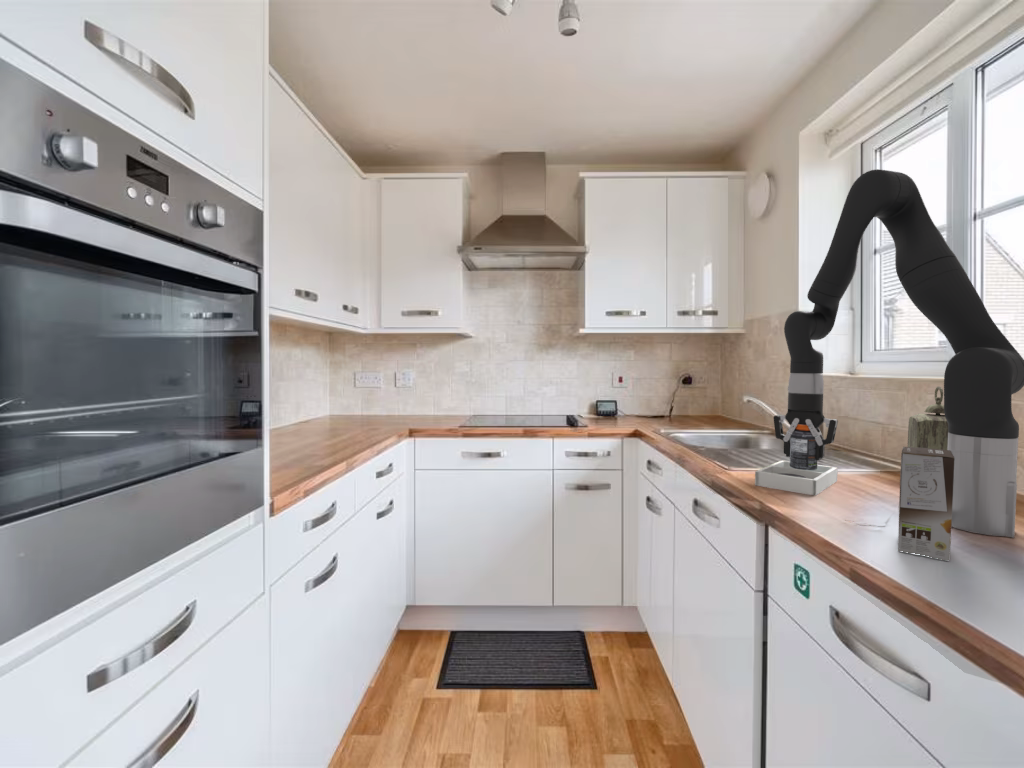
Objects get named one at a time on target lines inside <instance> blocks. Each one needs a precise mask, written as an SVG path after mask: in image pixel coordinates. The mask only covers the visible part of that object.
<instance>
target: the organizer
mask: <svg viewBox="0 0 1024 768" xmlns="http://www.w3.org/2000/svg"><path fill="white" fill-rule="evenodd" d="M838 470H839V468H838V467H837V466H829V465H823V464H822V465H821V464H817V469H816V470H812V471H807V470H800V469H794V468H791V467H790V460H779V461H778V462H777V461H776V462H775V463H772V464H770V465H768V466H765V467H763V468H760V469H758V470H756V471H754V473H755V474H754V485H755V486H756V487H757V486H758V487H764V488H768V489H769V488H770V489H775V490H781V491H785V492H792V493H797V494H803V495H809V496H810V495H811V496H818V495H819V494H820V493H822V492H823V491H825V490H826V489H828V488H829V487H830V486H832V485H833V484H835V483H836V482H838ZM780 473H788V474H796V475H801V476H804V477H806V478H800V477H794V476H787V475H781V474H780Z"/></svg>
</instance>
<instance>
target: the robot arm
mask: <svg viewBox="0 0 1024 768" xmlns="http://www.w3.org/2000/svg"><path fill="white" fill-rule="evenodd" d="M874 218H876V219H878V220H880V221H881V223H882V224H883V225H884V227H885V228H886V230H887V231H888V233H889V235H890V237H891V238H892V240H893V242H894V243H893V244H894V247H895V250H894V251H895V253H894V254H895V259H894V260H895V264H894V265H895V271H896V275H897V278H898V281H900V282H899V283H900V284H901V286H902V288H903V289H904V291H905V293H906V295H907V296H908V298H909V299H910V301H911V302H912V303H913V305H914V306H915V307H916V308H917V309H918V311H919V312H920V313H922V314H923V316H924V317H926V319H928V321H930V322H931V324H933V326H935V328H937V330H939V331H940V332H941V333H942V335H944V337H945V338H946V339H947V342H948V343H949V344H950V346H951V349H952V351H953V352H954V355H953V356H952V357H951V358H950V359H949V361H948V362H947V365H945V366H946V367H945V370H944V374H943V375H944V377H943V378H944V379H943V405H944V414H943V415H945V418H946V420H947V422H948V447H947V448H948V449H947V450H950V451H951V452H952V454H953V456H954V458H955V460H954V482H953V505H952V524H951V528H954V529H958V530H961V531H962V530H963V531H966V532H970V533H974V534H979V535H987V536H995V537H996V536H998V537H1008V538H1015V533H1016V531H1015V529H1016V514H1017V513H1016V510H1017V507H1016V506H1017V493H1018V492H1017V490H1018V484H1017V478H1018V476H1017V473H1018V453H1019V452H1018V451H1019V437H1020V436H1019V435H1020V433H1019V432H1020V425H1019V423H1018V421H1017V420H1016V419H1015V417H1014V415H1013V410H1012V408H1013V407H1012V395H1014V394H1016V393H1018V392H1019V391H1020V390H1022V389H1023V388H1024V358H1023V357H1022V355H1021V353H1019V352H1018V351H1017V349H1016V348H1015V347H1014V346H1013V345H1012V343H1011V342H1010V341H1009V339H1007V337H1006V336H1005V335H1004V333H1003V331H1001V330H1000V328H999V327H998V326H997V325H996V323H995V321H994V320H993V319H992V317H991V316H990V314H989V312H988V310H987V307H986V306H985V304H984V302H983V300H982V299H981V297H980V295H979V294H978V291H977V290H976V288H975V286H974V285H973V283H972V281H971V280H970V278H969V276H968V274H967V272H966V270H965V269H964V267H963V266H962V264H961V262H960V260H959V259H958V257H957V256H956V254H955V253H954V252H953V250H952V249H951V247H950V246H949V243H948V242H947V241H946V239H945V237H944V235H943V234H942V233H941V232H940V230H939V228H938V227H937V225H935V223H934V221H933V219H932V217H931V216H930V214H929V211H928V208H927V207H926V205H925V201H924V199H923V198H922V195H921V193H920V190H919V187H918V186H917V184H916V182H915V181H914V179H913V178H912V177H910V175H908V174H905V173H903V172H900V171H893V170H885V169H877V168H876V169H870V170H867V171H866V172H863V173H862V174H861V175H860V176H859V177H857V178H856V179H855V181H854V182H853V183H852V185H851V186H850V189H849V190H848V193H847V195H846V199H845V201H844V204H843V207H842V211H841V213H840V217H839V219H838V222H837V224H836V227H835V231H834V234H833V237H832V239H831V243H830V245H829V247H828V248H829V249H828V251H827V253H826V255H825V258H824V260H823V262H822V265H821V266H820V269H819V270H818V272H817V273H816V276H815V279H814V280H813V282H812V284H811V286H810V288H809V289H808V292H807V295H806V297H807V299H808V301H810V302H811V303H812V304H814V306H813V309H812V311H808V310H796V311H794V312H791V313H790V314H789V315H788V317H787V318H786V320H785V322H784V328H783V331H784V337H785V341H786V345H787V349H788V353H789V356H790V364H789V365H790V368H789V371H790V372H789V378H788V385H787V391H788V392H787V412H786V413H785V415H784V414H783V415H780V414H777V415H773V426H774V434H775V438H776V439H778V440H781V441H782V442H783V454H784V455H785V457H788V458H790V437H791V434H792V433H793V432H794V431H795V430H796V427H797V425H798V424H805V425H807V426H808V427H809V429H810V432H811V433H812V435H813V437H815V440H816V442H817V444H818V445H816V460H817V462H818V461H821V460H822V459H824V457H825V448H826V445H830V444H833V443H834V441H835V437H836V433H837V427H838V423H839V421H838V419H836V418H833V419H832V418H827V417H825V416H824V413H823V412H824V411H823V410H824V391H825V389H824V388H825V387H824V385H825V384H824V383H825V381H824V354H823V352H822V351H820V350H818V349H816V348H814V347H813V344H812V341H819V340H822V339H824V338H826V337H828V335H829V334H830V333H831V332H832V330H833V328H834V326H835V322H836V319H837V314H838V312H839V311H838V310H839V305H840V301H841V299H842V298H843V296H844V295H845V293H846V291H847V289H848V288H849V286H850V284H851V282H852V281H853V278H854V276H855V273H856V271H857V266H858V258H859V249H860V244H861V241H862V239H863V236H864V234H865V232H866V230H867V228H868V226H869V224H870V223H872V221H873V219H874ZM785 420H786V421H787V423H788V425H789V427H788V430H787V431H786V434H784V428H783V427H784V426H783V424H784V423H785ZM824 423H825V427H826V428H827V432H826V437H825V438H824V436H823V433H822V432H821V430H820V426H822V424H824Z"/></svg>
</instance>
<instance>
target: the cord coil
mask: <svg viewBox="0 0 1024 768" xmlns="http://www.w3.org/2000/svg"><path fill="white" fill-rule="evenodd" d="M780 474H781V475H787V476H794V477H800V478H806V477H804V476H801V475H796V474H788V473H780Z"/></svg>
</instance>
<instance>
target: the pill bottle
mask: <svg viewBox="0 0 1024 768" xmlns="http://www.w3.org/2000/svg"><path fill="white" fill-rule="evenodd" d="M816 445H818V444H817V442H816V440H815V437H813V435H812V433H811V432H810V429H809V427H808V426H807V425H805V424H798V425H797V427H796V430H795V431H794V432H793V433H792V434H791V437H790V457H789V461H790V467H791V468H794V469H800V470H807V471H812V470H816V469H817V465H818V460H816Z"/></svg>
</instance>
